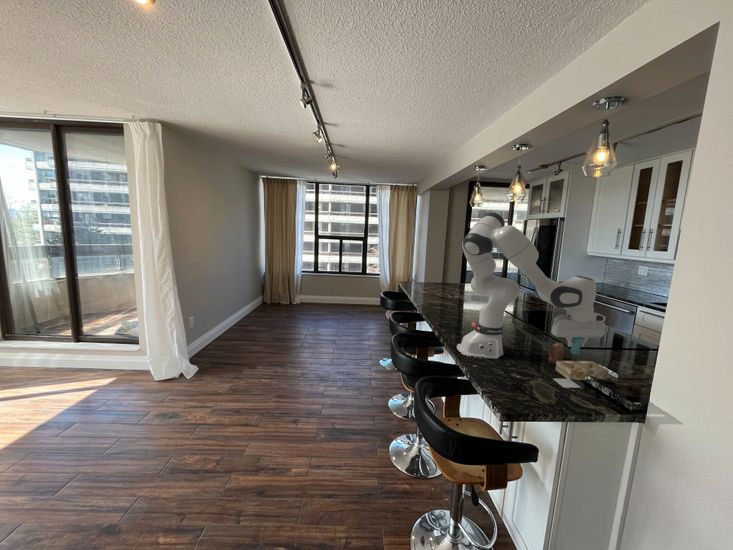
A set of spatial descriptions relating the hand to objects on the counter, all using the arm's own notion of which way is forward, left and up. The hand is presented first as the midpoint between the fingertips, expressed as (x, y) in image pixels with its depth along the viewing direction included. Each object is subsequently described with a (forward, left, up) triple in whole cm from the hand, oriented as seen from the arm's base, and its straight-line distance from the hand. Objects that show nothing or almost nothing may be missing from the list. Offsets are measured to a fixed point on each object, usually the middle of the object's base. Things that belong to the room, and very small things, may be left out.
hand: (575, 346), depth 126 cm
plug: (0, 0, -3) cm, 3 cm away
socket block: (+4, 0, -14) cm, 14 cm away
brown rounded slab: (+3, +15, -14) cm, 21 cm away
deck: (-7, -7, -14) cm, 17 cm away
